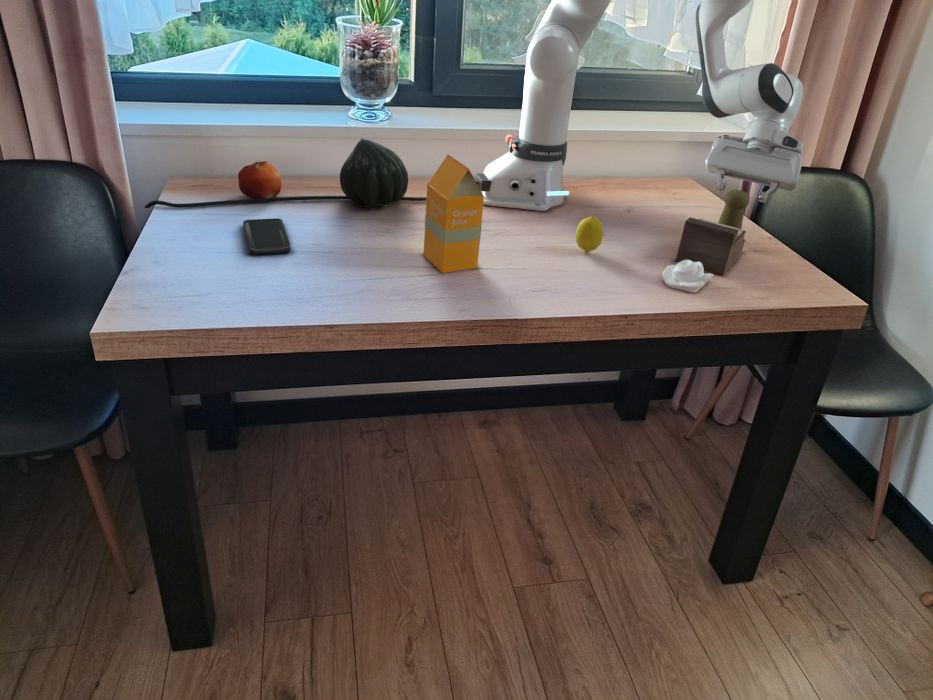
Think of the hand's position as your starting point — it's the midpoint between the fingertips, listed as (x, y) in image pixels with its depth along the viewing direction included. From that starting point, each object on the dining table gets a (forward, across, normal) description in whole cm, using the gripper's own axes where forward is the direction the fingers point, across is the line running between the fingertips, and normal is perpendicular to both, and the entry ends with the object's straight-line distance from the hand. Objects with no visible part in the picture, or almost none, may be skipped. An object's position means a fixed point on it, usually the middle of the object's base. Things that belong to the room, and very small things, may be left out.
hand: (740, 195), depth 164 cm
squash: (+35, -71, -22) cm, 82 cm away
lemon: (+30, -22, -16) cm, 40 cm away
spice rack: (+18, 0, -5) cm, 19 cm away
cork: (+9, 0, +5) cm, 10 cm away
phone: (+56, -74, -43) cm, 103 cm away
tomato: (+46, -91, -32) cm, 107 cm away
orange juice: (+45, -41, -32) cm, 69 cm away
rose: (+29, 0, -16) cm, 33 cm away
